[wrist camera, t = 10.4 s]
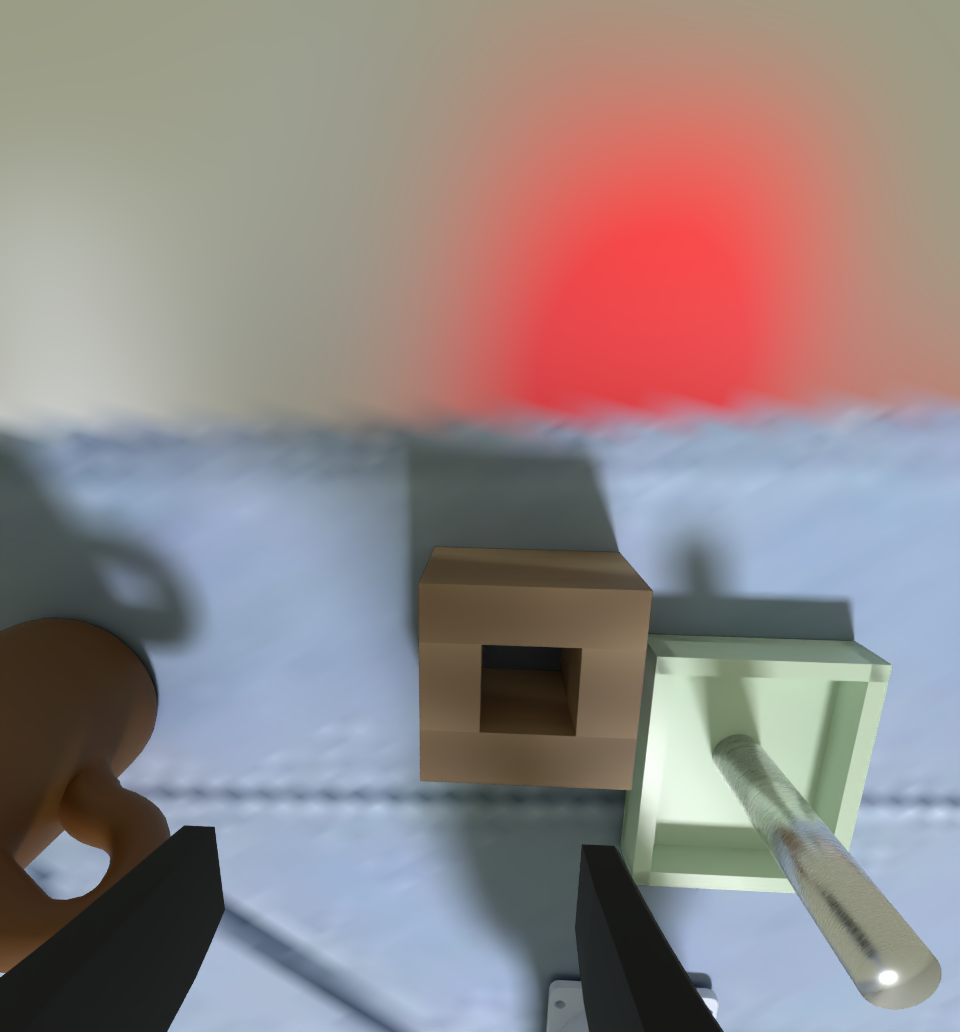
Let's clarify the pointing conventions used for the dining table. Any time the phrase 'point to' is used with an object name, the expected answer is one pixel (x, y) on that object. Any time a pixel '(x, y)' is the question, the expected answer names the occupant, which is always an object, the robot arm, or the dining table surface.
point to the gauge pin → (829, 882)
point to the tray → (761, 715)
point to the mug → (68, 767)
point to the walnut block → (531, 693)
